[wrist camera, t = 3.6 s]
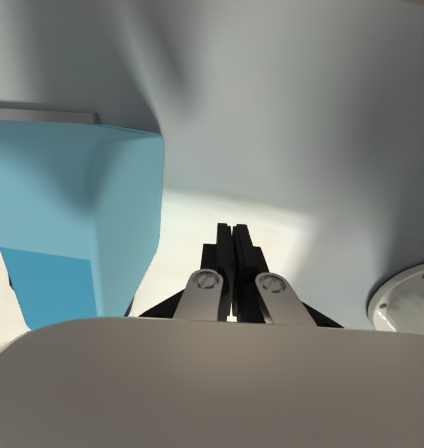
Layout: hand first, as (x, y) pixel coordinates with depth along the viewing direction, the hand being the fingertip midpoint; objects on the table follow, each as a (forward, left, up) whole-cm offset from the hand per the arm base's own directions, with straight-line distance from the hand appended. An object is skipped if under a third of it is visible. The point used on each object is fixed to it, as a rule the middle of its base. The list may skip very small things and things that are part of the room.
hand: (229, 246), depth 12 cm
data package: (+9, 0, -9) cm, 13 cm away
